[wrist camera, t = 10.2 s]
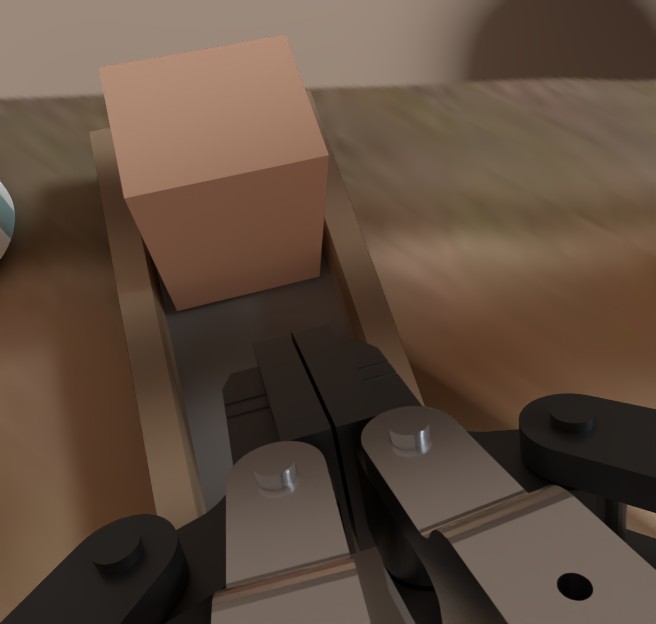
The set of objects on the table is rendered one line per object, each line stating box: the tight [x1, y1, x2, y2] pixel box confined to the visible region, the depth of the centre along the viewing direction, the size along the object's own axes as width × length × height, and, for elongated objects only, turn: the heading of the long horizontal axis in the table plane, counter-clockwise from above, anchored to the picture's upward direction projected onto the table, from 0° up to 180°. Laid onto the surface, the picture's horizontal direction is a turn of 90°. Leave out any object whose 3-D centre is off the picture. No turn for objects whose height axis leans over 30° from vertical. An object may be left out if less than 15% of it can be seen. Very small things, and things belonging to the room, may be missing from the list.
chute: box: [90, 90, 425, 624], centre depth 22 cm, size 22×9×3 cm, turn 16°
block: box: [99, 35, 329, 311], centre depth 22 cm, size 5×6×8 cm
